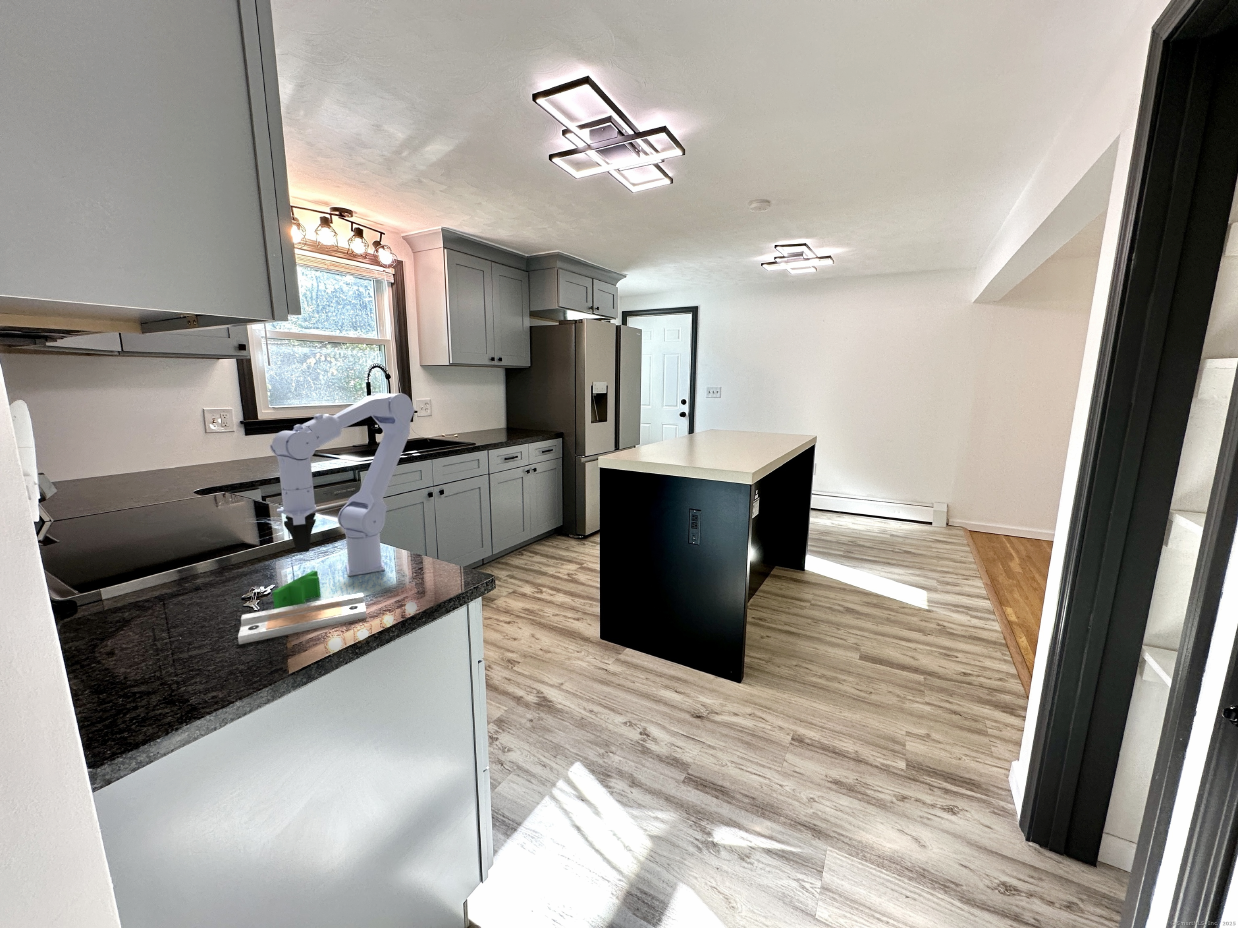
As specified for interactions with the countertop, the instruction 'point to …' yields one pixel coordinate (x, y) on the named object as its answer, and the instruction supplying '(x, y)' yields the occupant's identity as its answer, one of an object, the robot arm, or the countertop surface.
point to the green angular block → (297, 591)
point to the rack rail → (301, 617)
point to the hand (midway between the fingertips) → (303, 548)
